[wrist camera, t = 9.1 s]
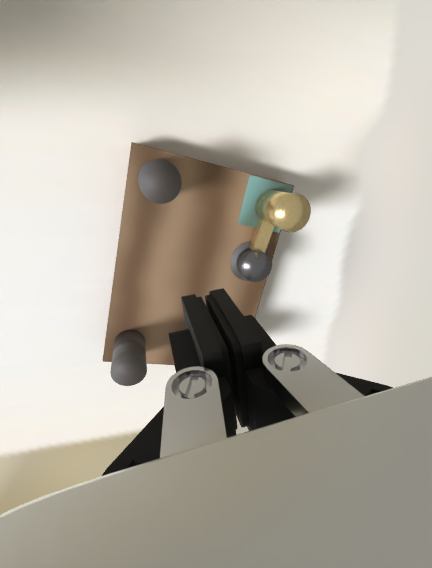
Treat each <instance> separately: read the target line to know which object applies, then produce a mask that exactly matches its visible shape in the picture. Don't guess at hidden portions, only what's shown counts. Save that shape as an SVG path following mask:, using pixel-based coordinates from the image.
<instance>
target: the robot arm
mask: <svg viewBox="0 0 432 568" xmlns="http://www.w3.org/2000/svg"><path fill="white" fill-rule="evenodd" d="M181 301H182V307H183V312H184V318H185V324H186V329H185V330H180V331H176V332H172V333H168V334H169V339H170V344H171V349H172V354H173V359H174V364H175V369H176V373H175V374H174V375H173V376H171V378H170V379H169V380H168V382H167V385H166V390H165V402H164V407H163V408H162V409H161V410H160V411H159V412H158V413H157V415H156V416H155V417H154V418H153V419H152V420H151V421H150V422H149V423H148V424H147V425H146V427H145V428H144V429H143V430H142V431H141V432H140V433H139V434H138V435H137V436H136V437H135V439H134V440H133V441H132V442H131V443H130V444H129V445H128V446H127V447H126V448H125V449H124V450H123V452H122V453H121V454H120V455H119V456H118V457H117V458H116V459H115V461H113V462H112V464H111V465H110V466H109V467H108V468H107V469H106V470H105V472H104V473H103V475H102V476H101V477H98V478H95V479H92V480H89V481H86V482H83V483H80V484H77V485H74V486H71V487H68V488H65V489H63V490H59V491H57V492H54V493H51V494H48V495H45V496H42V497H40V498H37V499H35V500H33V501H30V502H28V503H25V504H23V505H21V506H18V507H16V508H13V509H11V510H9V511H7V512H5V513H3V514H1V515H0V568H432V377H430V378H426V379H423V380H419V381H416V382H412V383H409V384H406V385H402V386H399V387H395V388H393V387H390V386H387V385H382V384H379V383H375V382H371V381H367V380H363V379H359V378H354V377H350V376H347V375H343V374H339V373H335V372H333V371H332V370H331V369H330V368H328V367H327V366H326V365H325V364H323V363H322V362H321V361H320V360H318V359H317V358H316V357H315V356H313V355H312V354H311V353H309V352H308V351H307V350H305V349H303V348H302V347H299V346H296V345H289V344H285V345H277V346H276V344H275V343H274V342H273V341H272V339H271V338H270V337H269V336H268V334H267V333H266V332H265V330H264V329H263V328H262V327H261V325H260V324H259V323H258V322H257V320H256V319H255V318H254V317H253V316H252V315H247V316H243V314H242V313H241V311H240V310H239V309H238V307H237V306H236V305H235V303H234V302H233V300H232V299H231V298H230V296H229V295H228V294H227V292H226V291H225V289H224V288H222V289H217V290H212V291H210V292H209V295H206V296H205V302H206V305H205V303H204V301H203V299H202V297H196V295H195V294H192V295H187V296H182V297H181ZM236 415H237V418H238V420H239V423H240V425H241V427H245V426H247V427H248V430H249V431H248V432H245V433H241V434H238V435H236V429H237V420H236Z"/></svg>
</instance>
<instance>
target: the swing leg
mask: <svg viewBox="0 0 432 568" xmlns="http://www.w3.org/2000/svg"><path fill="white" fill-rule="evenodd" d="M255 211H256V214H257V216H258V218H259V221H258V224H257V227H256V230H255V233H254V235H253V238H252V241H251V244H250V247H249V248H247V249H245V250H243V251H242V252H241V253H240V254H239V256H238V258H237V262H236V265H237V269H238V271H239V272H240V273H241V274H242V275H243V276H244V277H245V278H246V279H247V280H248V281H251V282H259V281H262V280H263V279H265V278H266V277H267V276H268V275H269V273H270V271H271V267H272V263H271V259H270V258H269V256H268V255H267V254H265V251H266V248H267V246H268V243H269V240H270V237H271V234H272V232H273V229H274V226H275V227H277V228H280V229H282V230H284V231H287V232H296V231H298V230H300V229H302V228H303V227H304V226H305V225H306V223H307V222H308V220H309V217H310V212H311V209H310V204H309V202H308V200H307V199H306V198H305V197H304V196H302V195H299V194H293V193H287V192H281V191H275V190H268V191H265V192H263V193H262V194H261V195H260V196H259V197H258V199H257V201H256V205H255Z"/></svg>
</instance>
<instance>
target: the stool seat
mask: <svg viewBox="0 0 432 568" xmlns="http://www.w3.org/2000/svg"><path fill="white" fill-rule="evenodd" d="M293 187H294V185H290V184H286V183H283V182H279V181H275V180H271V179H268V178H264V177H260V176H256V175H253V174H249V173H245V172H241V171H238V170H234V169H230V168H226V167H223V166H219V165H215V164H211V163H208V162H204V161H200V160H196V159H193V158H189V157H185V156H181V155H178V154H174V153H170V152H166V151H163V150H159V149H155V148H151V147H148V146H144V145H140V144H136V143H133V142H132V143H131V151H130V158H129V166H128V174H127V181H126V189H125V196H124V204H123V211H122V219H121V226H120V234H119V241H118V249H117V257H116V264H115V272H114V279H113V287H112V294H111V302H110V309H109V317H108V324H107V332H106V340H105V347H104V355H103V361H105V362H112V365H111V377H112V379H113V380H114V381H115V382H116V383H118V384H120V385H124V386H131V385H135V384H137V383H139V382H140V381H142V380H143V379H144V377H145V375H146V373H147V365H146V364H165V365H175V364H174V359H173V354H172V349H171V344H170V339H169V334H168V333H172V332H176V331H180V330H185V329H186V324H185V318H184V312H183V307H182V301H181V297H182V296H187V295H192V294H195V295H196V297H202V299H203V301H204V303H205V305H206V302H205V296H206V295H209V292H210V291H212V290H217V289H222V288H224V289H225V291H226V292H227V294H228V295H229V296H230V298H231V299H232V300H233V302H234V303H235V305H236V306H237V307H238V309H239V310H240V311H241V313H242V314H243V316H247V315H252V316H253V317H254V318H255V315H256V312H257V308H258V305H259V302H260V298H261V295H262V292H263V288H264V285H265V282H266V278H267V277H266V278H265V279H263V280H262V281H259V282H251V281H248V280H247V279H246V278H245V277H244V276H243V275H242V274H241V273H240V272H239V271H238V269H237V265H236V262H237V258H238V256H239V254H240V253H241V252H242V251H243V250H245V249H247V248H249V247H250V244H251V241H252V238H253V235H254V233H255V230H256V227H257V224H258V221H259V218H258V216H257V214H256V211H255V205H256V201H257V199H258V197H259V196H260V195H261V194H262V193H263V192H265V191H268V190H275V191H281V192H287V193H292V191H293ZM280 231H281V229H280V228H277V227H275V226H274V229H273V232H272V234H271V237H270V240H269V243H268V246H267V248H266V251H265V254H267V255H268V256H269V258H270V259H271V261H272V258H273V255H274V251H275V248H276V244H277V241H278V238H279V234H280Z"/></svg>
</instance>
